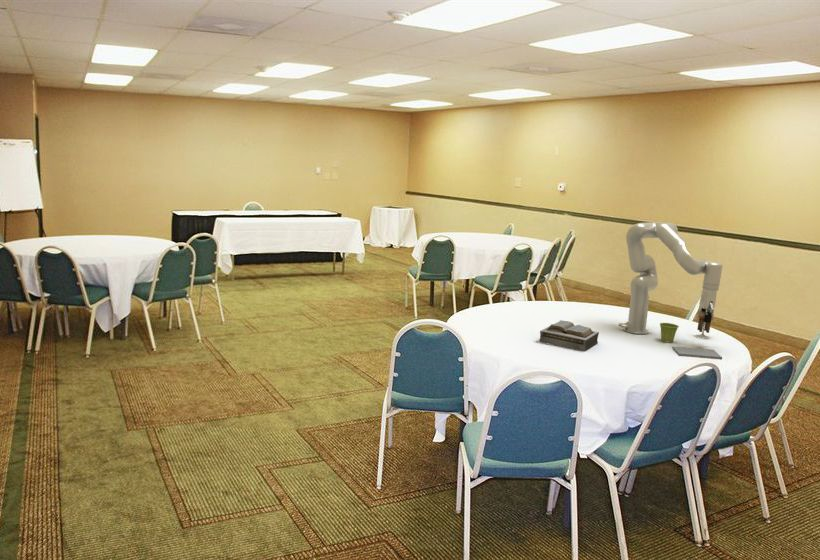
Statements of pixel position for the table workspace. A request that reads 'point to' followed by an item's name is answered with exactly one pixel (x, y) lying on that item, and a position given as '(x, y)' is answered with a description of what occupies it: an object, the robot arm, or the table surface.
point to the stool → (701, 322)
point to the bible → (569, 336)
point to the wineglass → (703, 327)
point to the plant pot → (668, 331)
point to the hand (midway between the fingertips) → (705, 320)
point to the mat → (696, 352)
